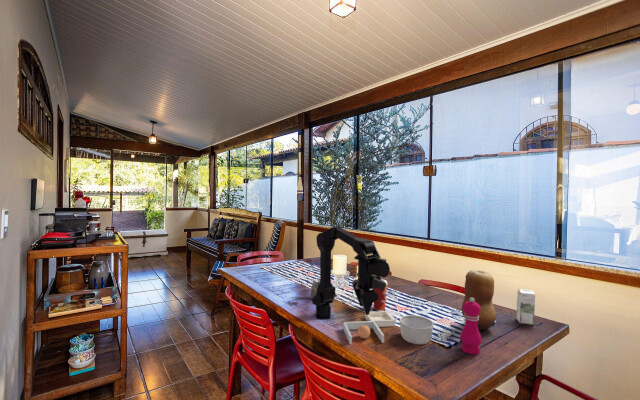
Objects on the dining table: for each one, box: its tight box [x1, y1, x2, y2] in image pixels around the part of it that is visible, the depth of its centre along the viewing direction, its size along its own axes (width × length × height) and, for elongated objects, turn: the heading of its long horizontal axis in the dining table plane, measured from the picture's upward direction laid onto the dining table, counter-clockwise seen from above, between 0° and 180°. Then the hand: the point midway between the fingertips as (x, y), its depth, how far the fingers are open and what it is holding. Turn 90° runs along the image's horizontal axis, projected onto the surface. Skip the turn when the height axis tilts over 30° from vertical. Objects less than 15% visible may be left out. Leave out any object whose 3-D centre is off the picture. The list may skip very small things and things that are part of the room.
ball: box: [357, 325, 371, 339], centre depth 128 cm, size 5×5×5 cm
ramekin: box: [398, 314, 435, 345], centre depth 128 cm, size 13×13×7 cm
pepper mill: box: [459, 297, 483, 355], centre depth 118 cm, size 7×7×20 cm
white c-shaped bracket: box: [342, 320, 385, 345], centre depth 130 cm, size 14×14×3 cm
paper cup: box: [372, 278, 388, 311], centre depth 160 cm, size 8×8×14 cm
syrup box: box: [516, 288, 536, 326], centre depth 145 cm, size 6×6×14 cm
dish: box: [364, 310, 396, 328], centre depth 144 cm, size 11×11×3 cm
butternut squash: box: [461, 269, 497, 331], centre depth 138 cm, size 14×13×25 cm
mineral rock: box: [309, 280, 338, 300], centre depth 173 cm, size 13×11×10 cm
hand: (364, 310), depth 128 cm, fingers open, 9 cm apart
